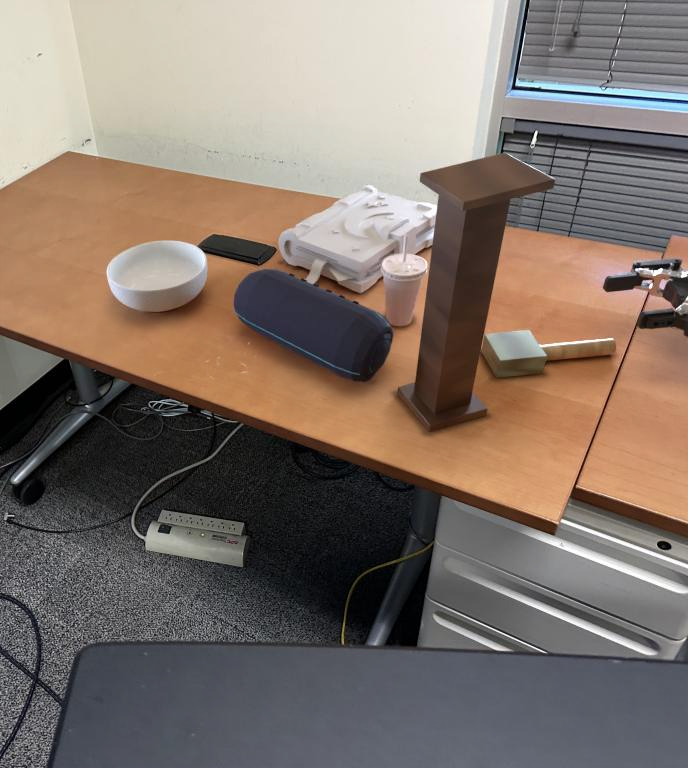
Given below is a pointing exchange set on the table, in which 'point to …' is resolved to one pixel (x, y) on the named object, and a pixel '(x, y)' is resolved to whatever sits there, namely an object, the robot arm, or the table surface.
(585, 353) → the green wooden mallet
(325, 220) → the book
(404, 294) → the smoothie
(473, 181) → the stand
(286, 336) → the portable speaker
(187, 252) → the cereal bowl
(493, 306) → the table surface
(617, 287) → the robot arm
